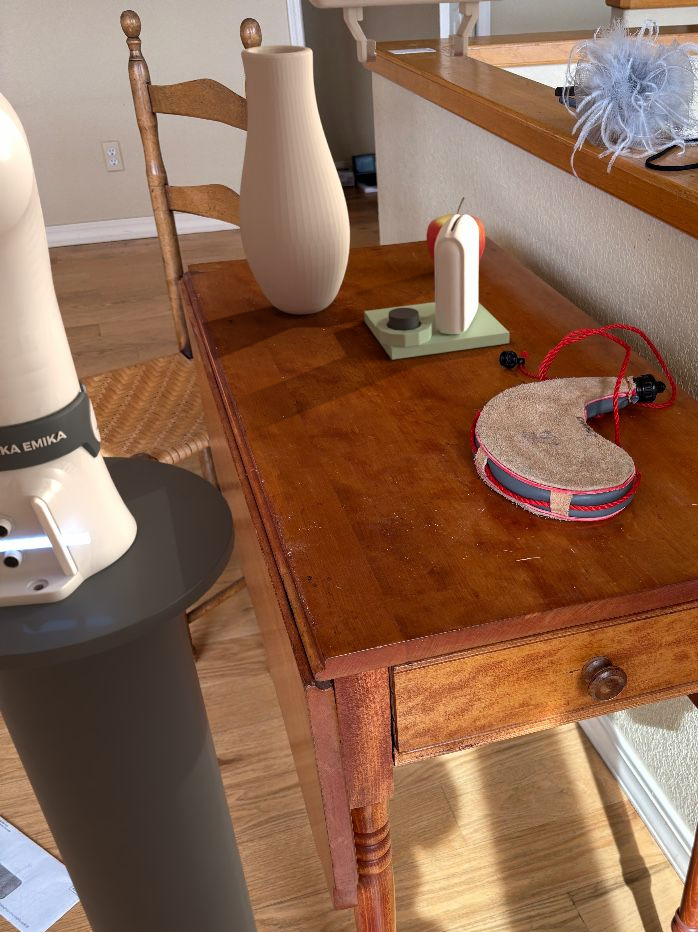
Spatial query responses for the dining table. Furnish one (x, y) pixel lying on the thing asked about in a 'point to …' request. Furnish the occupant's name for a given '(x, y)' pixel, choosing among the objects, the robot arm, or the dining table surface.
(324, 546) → the dining table surface
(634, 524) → the dining table surface
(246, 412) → the dining table surface
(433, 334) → the scale
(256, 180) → the vase
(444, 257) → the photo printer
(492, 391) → the dining table surface
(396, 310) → the button
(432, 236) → the apple
